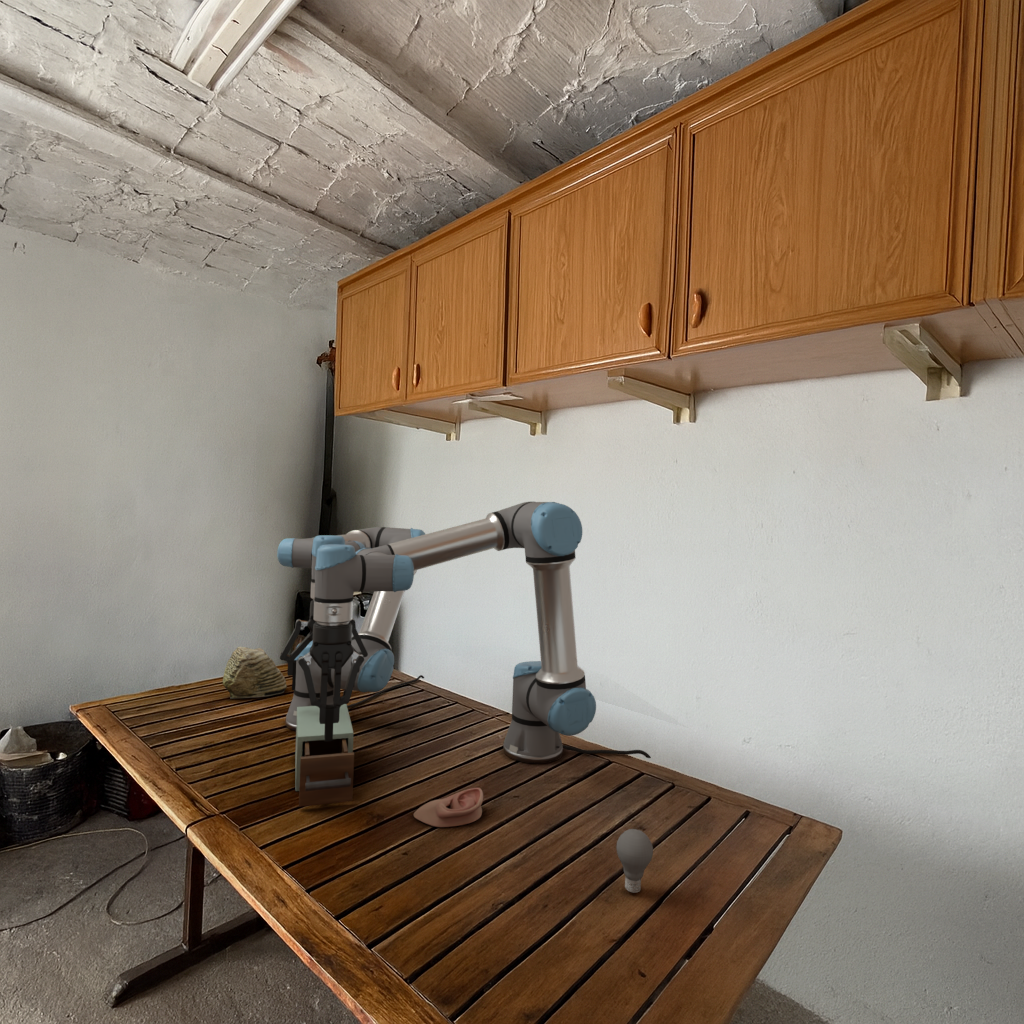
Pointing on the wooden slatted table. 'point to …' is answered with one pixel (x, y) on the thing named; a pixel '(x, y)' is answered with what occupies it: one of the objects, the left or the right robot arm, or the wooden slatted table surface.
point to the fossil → (252, 674)
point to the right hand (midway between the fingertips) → (328, 738)
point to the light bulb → (634, 857)
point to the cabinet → (318, 732)
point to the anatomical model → (452, 809)
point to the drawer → (326, 773)
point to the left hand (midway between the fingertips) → (323, 687)
